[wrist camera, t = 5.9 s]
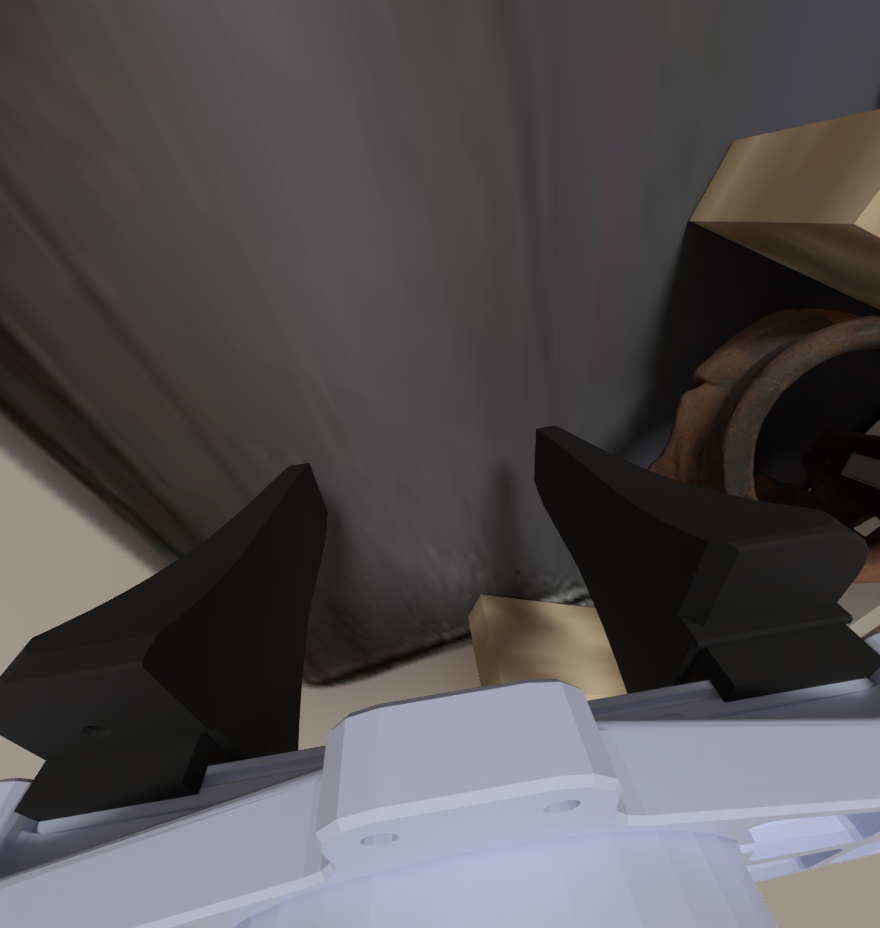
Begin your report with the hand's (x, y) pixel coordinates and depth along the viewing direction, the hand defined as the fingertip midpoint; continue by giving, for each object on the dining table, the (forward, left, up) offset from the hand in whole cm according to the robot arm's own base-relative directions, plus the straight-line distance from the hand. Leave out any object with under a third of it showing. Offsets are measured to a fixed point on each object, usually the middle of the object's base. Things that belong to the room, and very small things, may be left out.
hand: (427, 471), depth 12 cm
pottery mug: (-14, -2, -4) cm, 15 cm away
